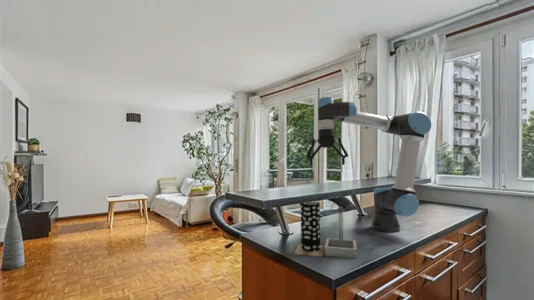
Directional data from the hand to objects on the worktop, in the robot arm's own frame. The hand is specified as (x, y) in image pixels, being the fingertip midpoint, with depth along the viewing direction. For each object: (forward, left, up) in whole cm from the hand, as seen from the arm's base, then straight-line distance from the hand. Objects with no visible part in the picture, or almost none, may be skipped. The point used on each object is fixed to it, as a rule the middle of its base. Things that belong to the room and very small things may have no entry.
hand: (327, 171), depth 137 cm
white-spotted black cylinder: (+7, +17, -33) cm, 38 cm away
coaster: (+7, +17, -34) cm, 38 cm away
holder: (-6, +13, -34) cm, 37 cm away
